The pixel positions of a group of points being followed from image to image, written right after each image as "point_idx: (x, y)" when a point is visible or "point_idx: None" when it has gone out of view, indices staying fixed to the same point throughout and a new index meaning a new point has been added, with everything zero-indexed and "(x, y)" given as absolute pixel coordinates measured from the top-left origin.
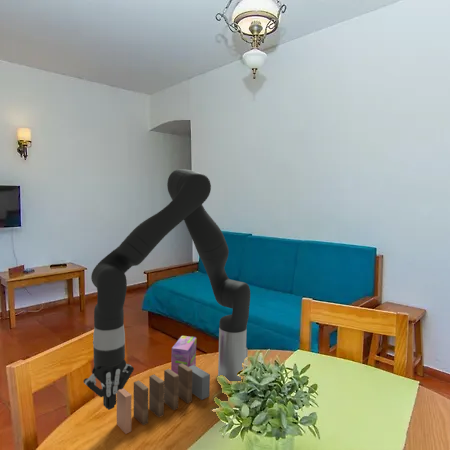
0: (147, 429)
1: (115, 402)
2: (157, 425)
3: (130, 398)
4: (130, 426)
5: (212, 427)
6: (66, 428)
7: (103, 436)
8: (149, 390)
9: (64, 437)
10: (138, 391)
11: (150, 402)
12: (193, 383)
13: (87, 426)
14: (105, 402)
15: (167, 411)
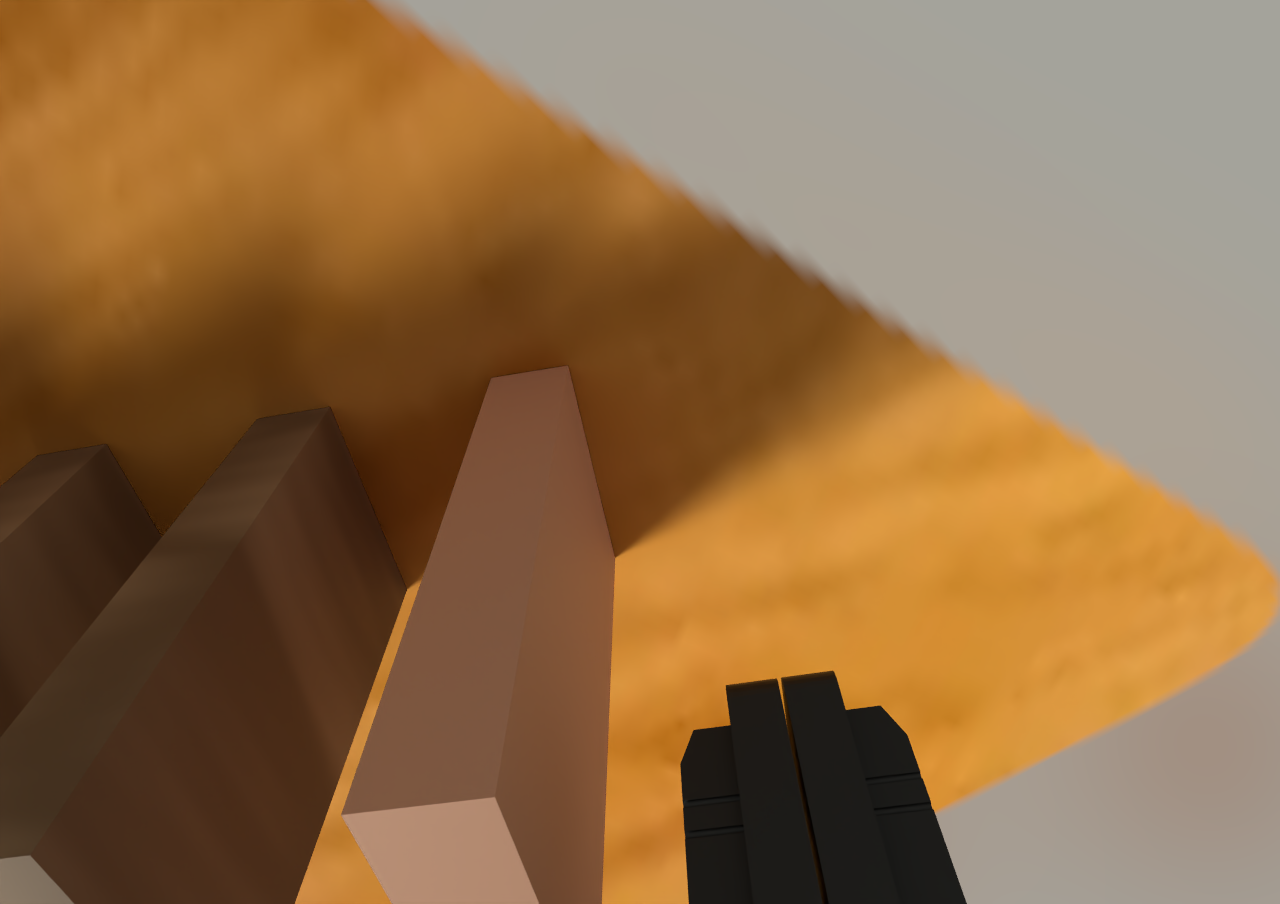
0: (285, 307)
1: (700, 768)
2: (139, 314)
3: (388, 743)
4: (491, 409)
5: None
6: (1058, 709)
7: (809, 449)
8: None
9: (1136, 613)
10: (196, 858)
11: None
12: None
13: (887, 655)
14: (934, 825)
15: None
